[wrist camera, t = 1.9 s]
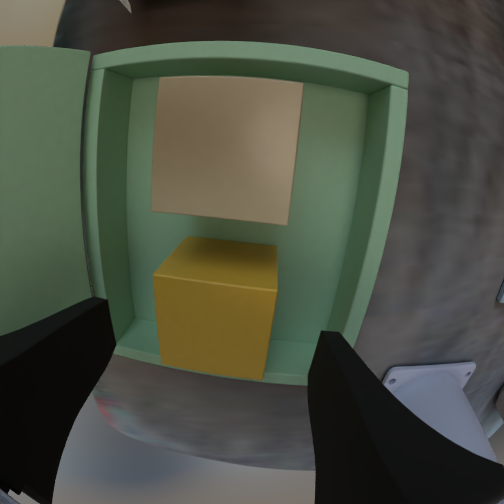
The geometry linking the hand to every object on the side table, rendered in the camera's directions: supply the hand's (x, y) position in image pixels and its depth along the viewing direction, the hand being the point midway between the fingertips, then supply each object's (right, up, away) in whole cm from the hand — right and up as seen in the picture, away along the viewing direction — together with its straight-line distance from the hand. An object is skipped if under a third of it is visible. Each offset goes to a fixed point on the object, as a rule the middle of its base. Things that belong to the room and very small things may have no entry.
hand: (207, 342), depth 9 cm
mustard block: (0, +2, +4) cm, 5 cm away
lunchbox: (+1, +5, +4) cm, 6 cm away
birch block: (+1, +7, +2) cm, 8 cm away
